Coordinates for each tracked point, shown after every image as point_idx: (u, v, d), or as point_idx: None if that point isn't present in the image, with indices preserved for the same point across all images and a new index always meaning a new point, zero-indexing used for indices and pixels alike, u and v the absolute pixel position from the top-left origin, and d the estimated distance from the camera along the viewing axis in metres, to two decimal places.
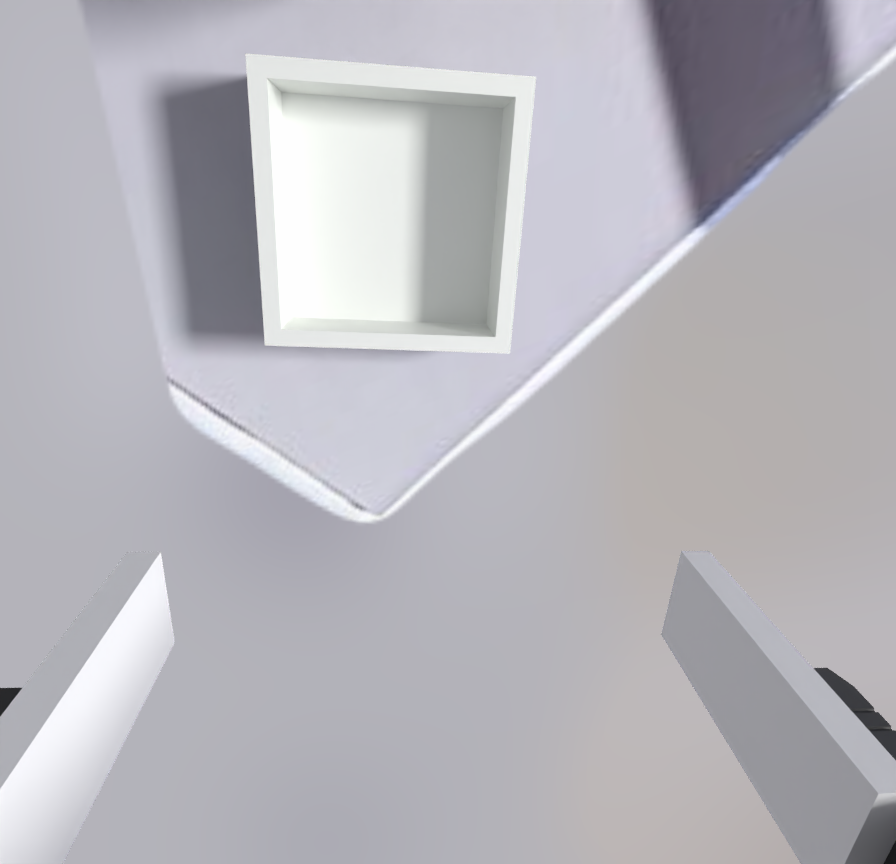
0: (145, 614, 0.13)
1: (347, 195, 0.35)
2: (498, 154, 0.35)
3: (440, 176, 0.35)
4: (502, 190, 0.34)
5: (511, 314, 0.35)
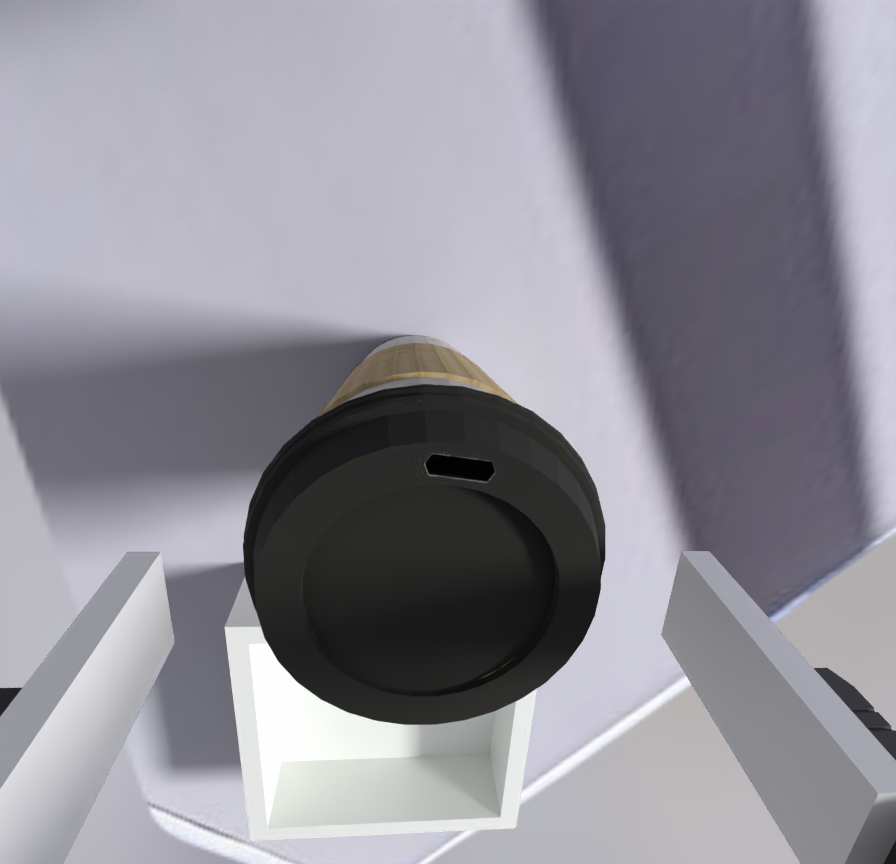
0: (145, 614, 0.13)
1: None
2: None
3: None
4: None
5: (517, 799, 0.32)
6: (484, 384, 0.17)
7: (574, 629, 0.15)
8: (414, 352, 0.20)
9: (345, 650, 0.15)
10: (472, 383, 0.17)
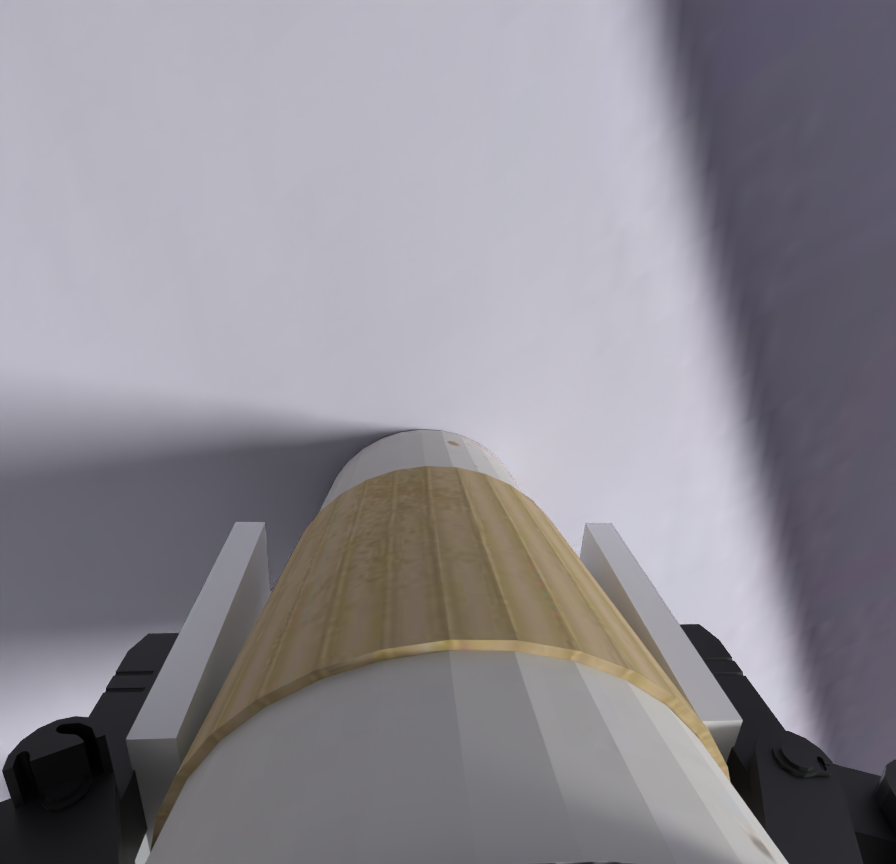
0: (257, 576, 0.14)
1: None
2: None
3: None
4: None
5: None
6: (597, 656, 0.07)
7: None
8: (428, 512, 0.11)
9: None
10: (570, 657, 0.07)
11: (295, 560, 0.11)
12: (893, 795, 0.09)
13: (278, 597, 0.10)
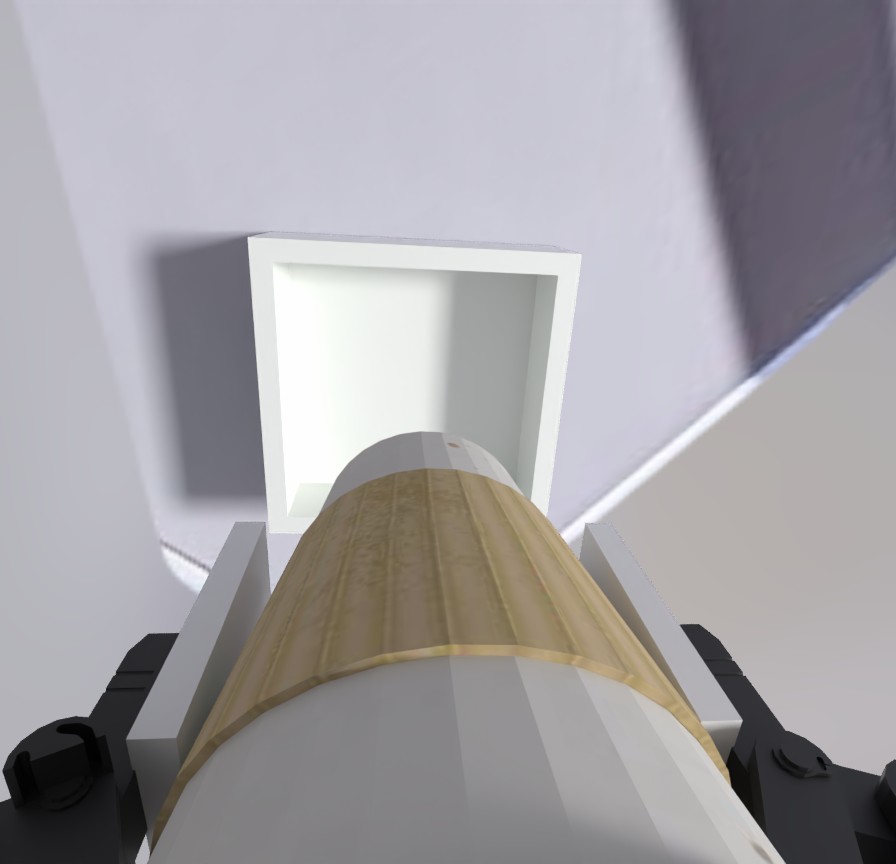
0: (257, 576, 0.14)
1: (362, 358, 0.31)
2: (532, 313, 0.31)
3: (466, 337, 0.31)
4: (538, 360, 0.30)
5: (547, 495, 0.31)
6: (598, 661, 0.07)
7: None
8: (428, 515, 0.11)
9: None
10: (571, 662, 0.07)
11: (295, 563, 0.11)
12: (893, 795, 0.09)
13: (278, 600, 0.10)
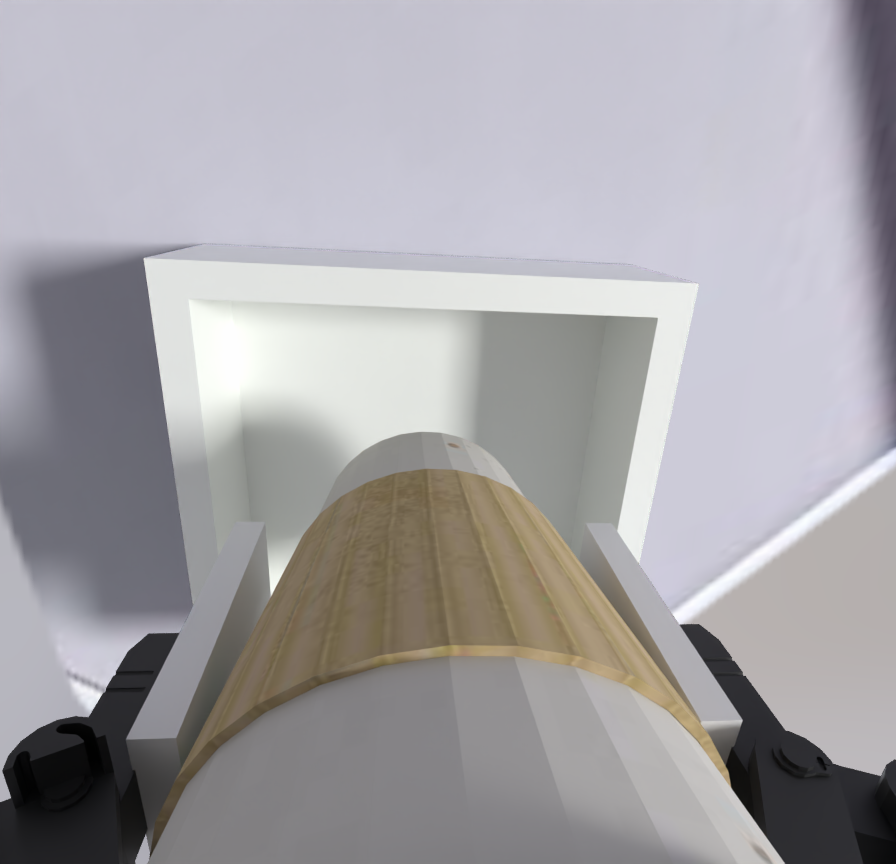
0: (257, 576, 0.14)
1: (345, 430, 0.21)
2: (597, 364, 0.21)
3: (500, 399, 0.21)
4: (610, 439, 0.20)
5: None
6: (598, 661, 0.07)
7: None
8: (428, 515, 0.11)
9: None
10: (571, 662, 0.07)
11: (295, 563, 0.11)
12: (893, 795, 0.09)
13: (278, 601, 0.10)
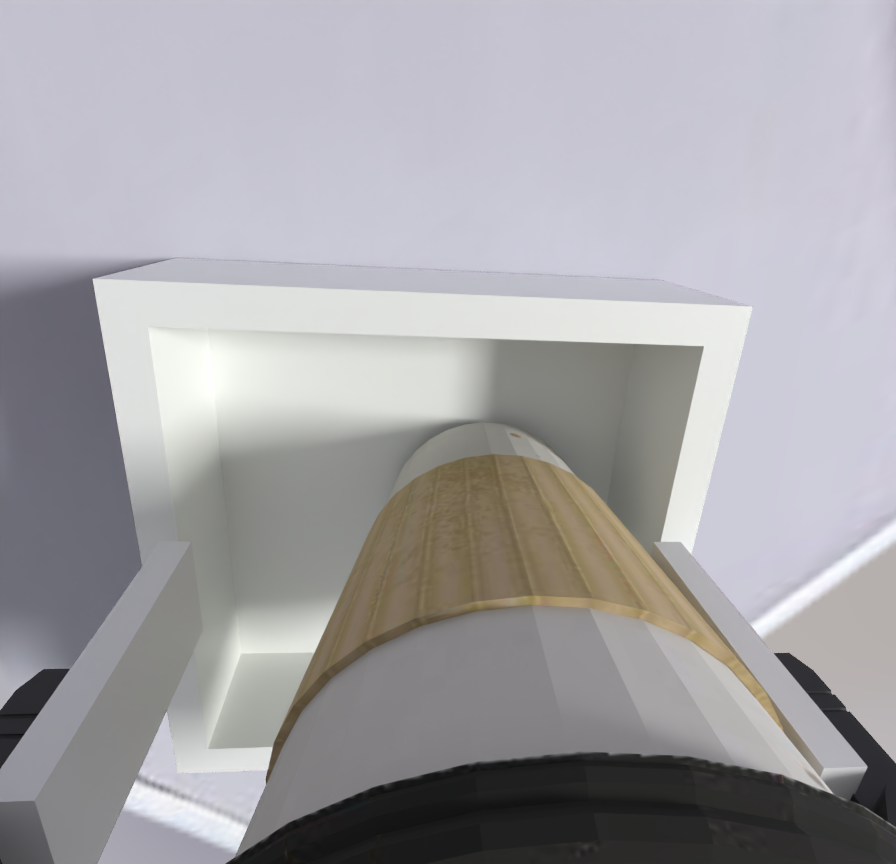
0: (178, 601, 0.13)
1: (338, 468, 0.19)
2: (624, 393, 0.19)
3: None
4: (640, 480, 0.17)
5: None
6: (663, 616, 0.08)
7: None
8: (501, 493, 0.12)
9: None
10: (639, 616, 0.08)
11: (377, 535, 0.13)
12: None
13: (367, 565, 0.11)
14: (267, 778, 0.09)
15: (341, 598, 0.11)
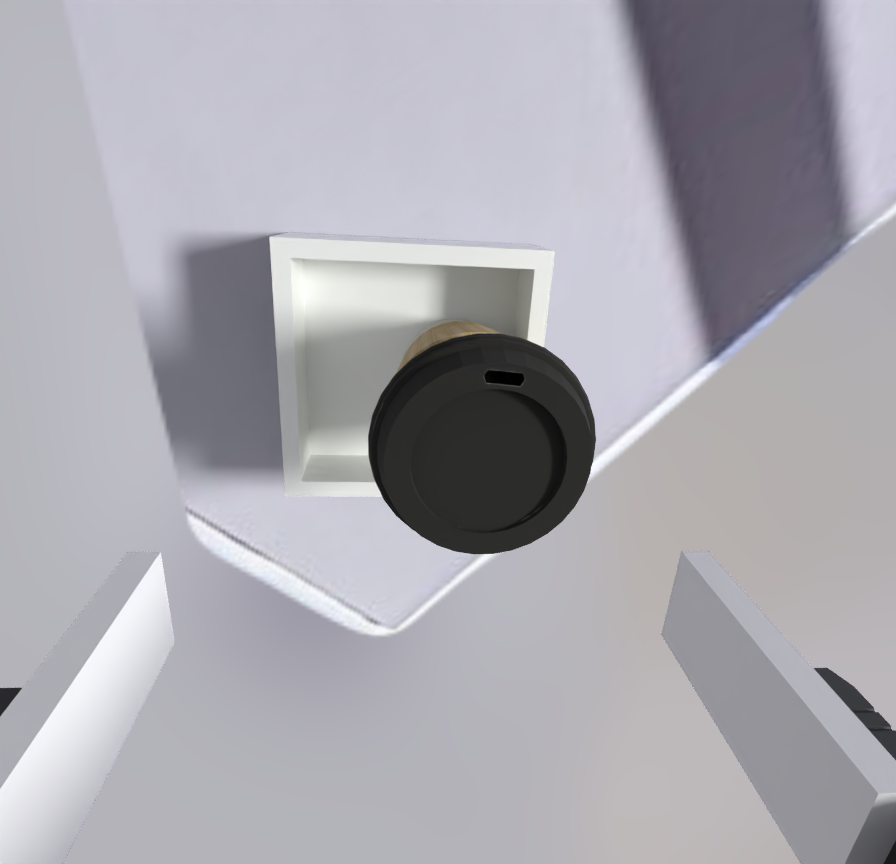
0: (145, 614, 0.13)
1: (365, 343, 0.36)
2: (515, 303, 0.36)
3: None
4: None
5: None
6: None
7: (578, 483, 0.23)
8: (459, 325, 0.29)
9: (436, 503, 0.24)
10: None
11: (409, 350, 0.30)
12: None
13: (408, 353, 0.29)
14: None
15: (399, 366, 0.29)
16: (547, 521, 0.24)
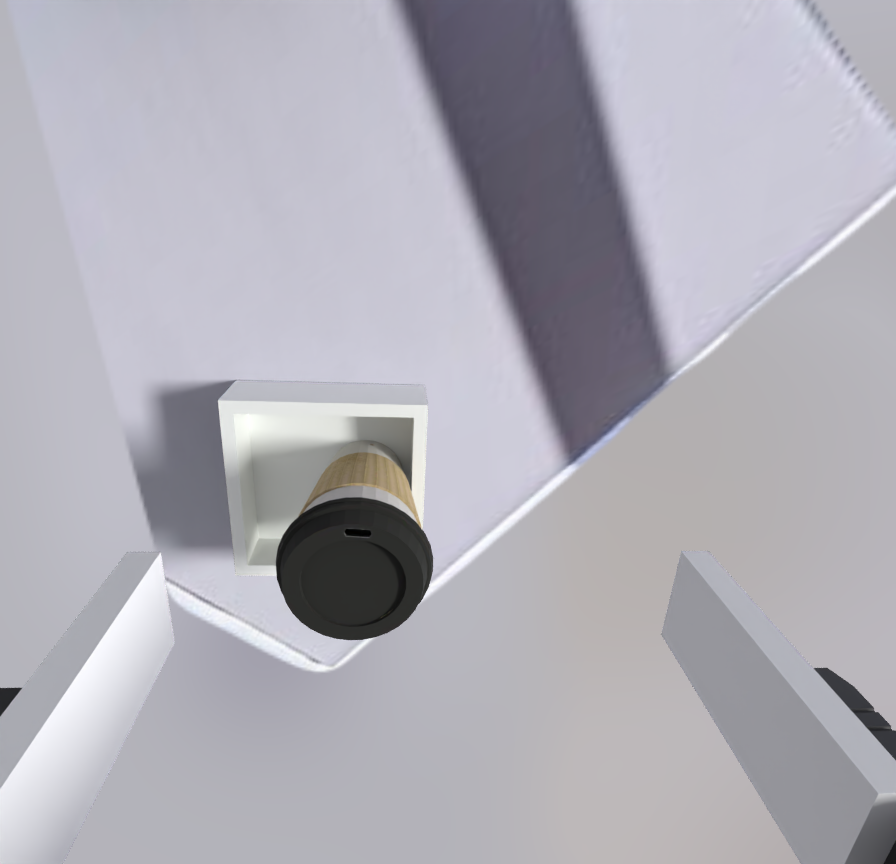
0: (145, 614, 0.13)
1: (298, 458, 0.47)
2: (411, 429, 0.47)
3: None
4: (411, 463, 0.46)
5: None
6: (380, 486, 0.37)
7: (415, 595, 0.35)
8: (354, 464, 0.41)
9: (320, 607, 0.35)
10: (375, 486, 0.37)
11: (320, 479, 0.41)
12: None
13: (316, 486, 0.40)
14: None
15: (309, 496, 0.40)
16: (397, 619, 0.35)
